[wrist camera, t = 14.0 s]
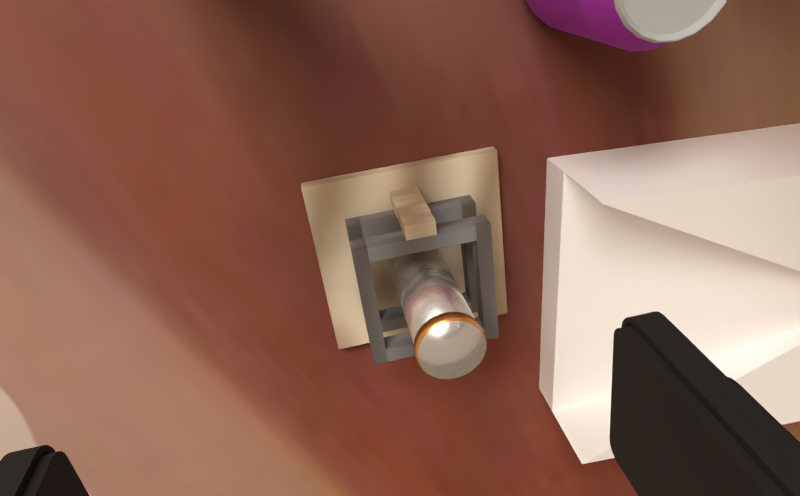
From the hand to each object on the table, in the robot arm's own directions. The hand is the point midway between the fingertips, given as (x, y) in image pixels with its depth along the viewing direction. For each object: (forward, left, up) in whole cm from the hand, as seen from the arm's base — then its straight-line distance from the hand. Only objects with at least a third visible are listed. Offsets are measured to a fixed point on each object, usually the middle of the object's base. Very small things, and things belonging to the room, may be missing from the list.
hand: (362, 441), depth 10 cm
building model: (-38, +21, -33) cm, 54 cm away
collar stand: (-5, +14, -32) cm, 36 cm away
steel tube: (-5, +14, -31) cm, 35 cm away
